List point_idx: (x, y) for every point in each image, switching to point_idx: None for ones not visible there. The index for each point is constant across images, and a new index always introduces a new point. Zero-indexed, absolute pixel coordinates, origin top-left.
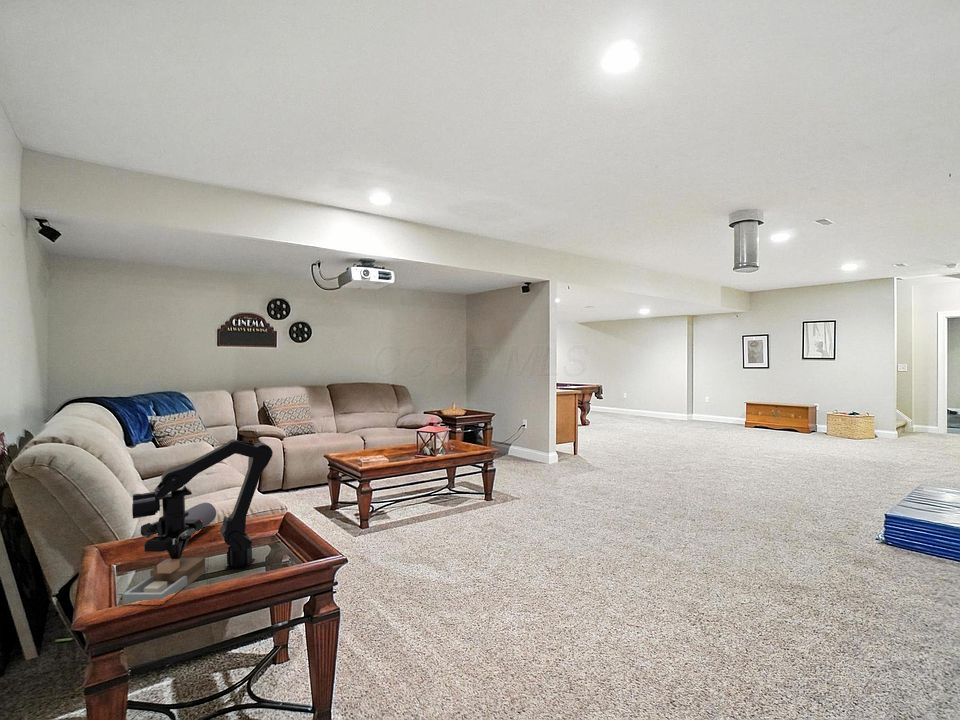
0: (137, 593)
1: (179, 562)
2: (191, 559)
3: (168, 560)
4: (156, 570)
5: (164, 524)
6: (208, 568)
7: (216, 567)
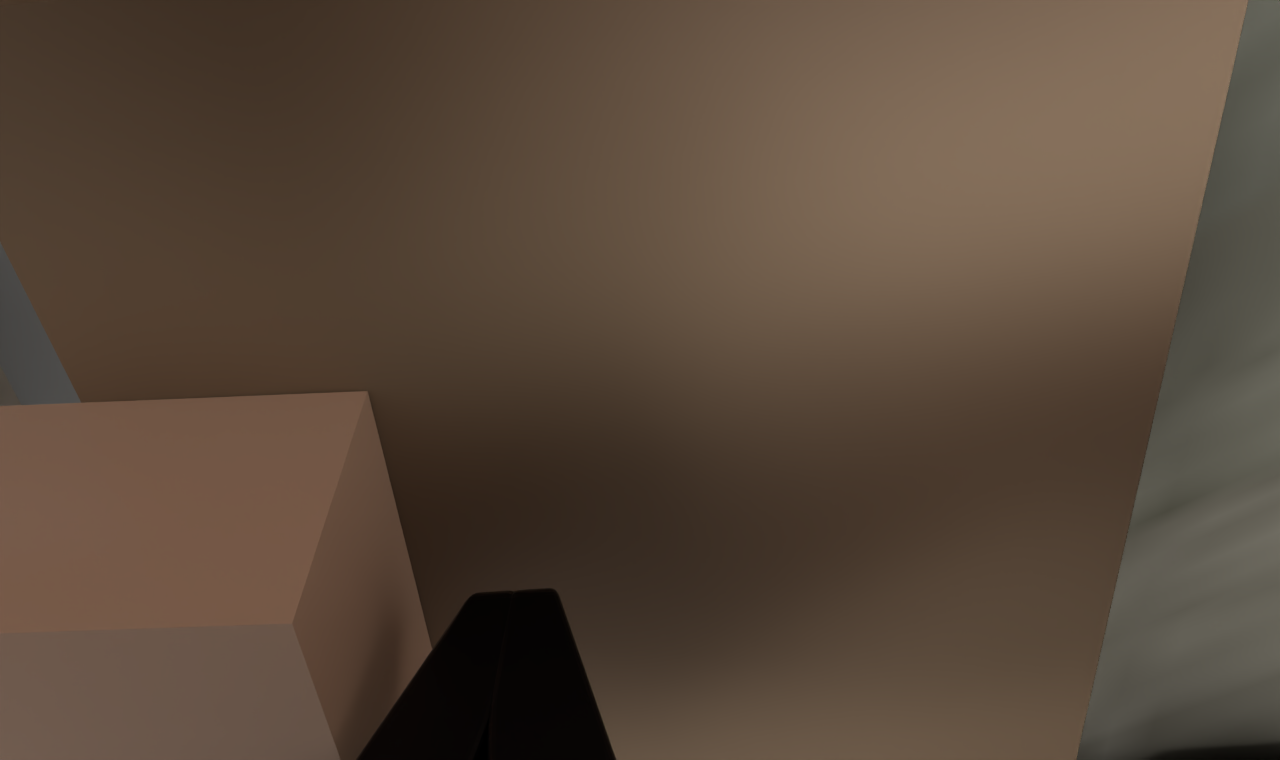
0: None
1: (760, 512)
2: (982, 662)
3: (191, 754)
4: (24, 241)
5: None
6: (1150, 528)
7: (1171, 623)
